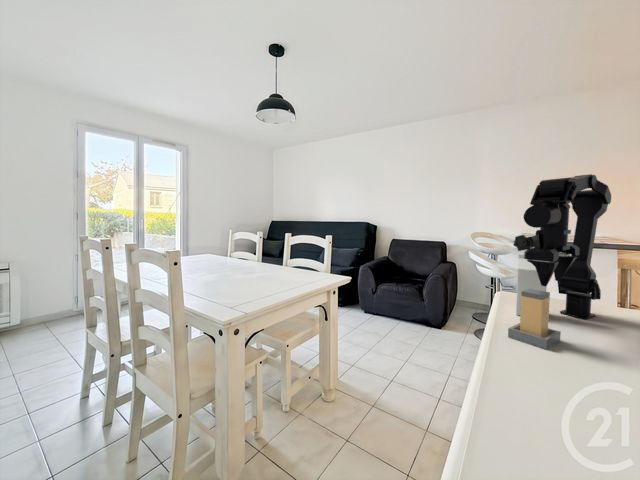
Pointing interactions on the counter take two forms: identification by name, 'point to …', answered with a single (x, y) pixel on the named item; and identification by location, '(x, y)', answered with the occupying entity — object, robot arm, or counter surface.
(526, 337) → the socket collar
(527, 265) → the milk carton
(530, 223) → the robot arm
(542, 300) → the plug
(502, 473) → the counter surface
